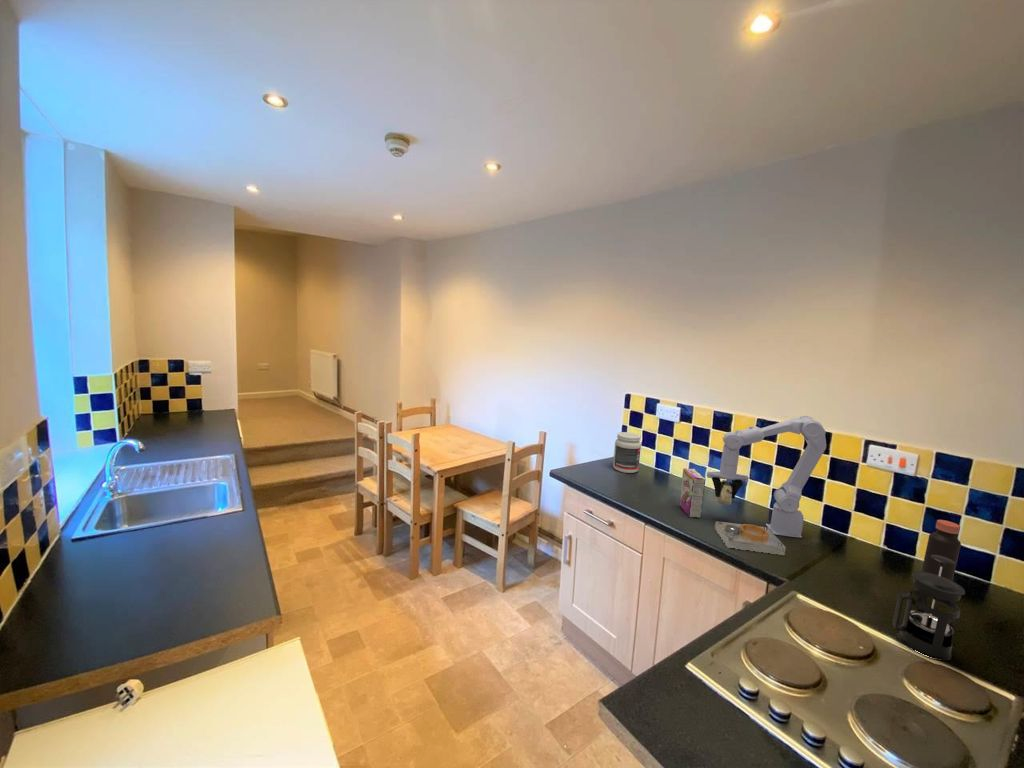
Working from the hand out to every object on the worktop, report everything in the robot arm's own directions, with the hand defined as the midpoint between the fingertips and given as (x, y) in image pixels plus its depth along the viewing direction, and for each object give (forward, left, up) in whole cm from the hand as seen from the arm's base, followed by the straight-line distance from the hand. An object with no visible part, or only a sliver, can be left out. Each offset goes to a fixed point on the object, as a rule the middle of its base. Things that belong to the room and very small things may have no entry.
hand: (724, 497), depth 165 cm
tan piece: (0, +1, -2) cm, 3 cm away
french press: (-28, +60, -10) cm, 67 cm away
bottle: (-53, +29, -10) cm, 61 cm away
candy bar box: (+11, -4, -10) cm, 15 cm away
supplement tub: (+32, -48, -10) cm, 59 cm away
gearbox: (-4, +16, -9) cm, 19 cm away
